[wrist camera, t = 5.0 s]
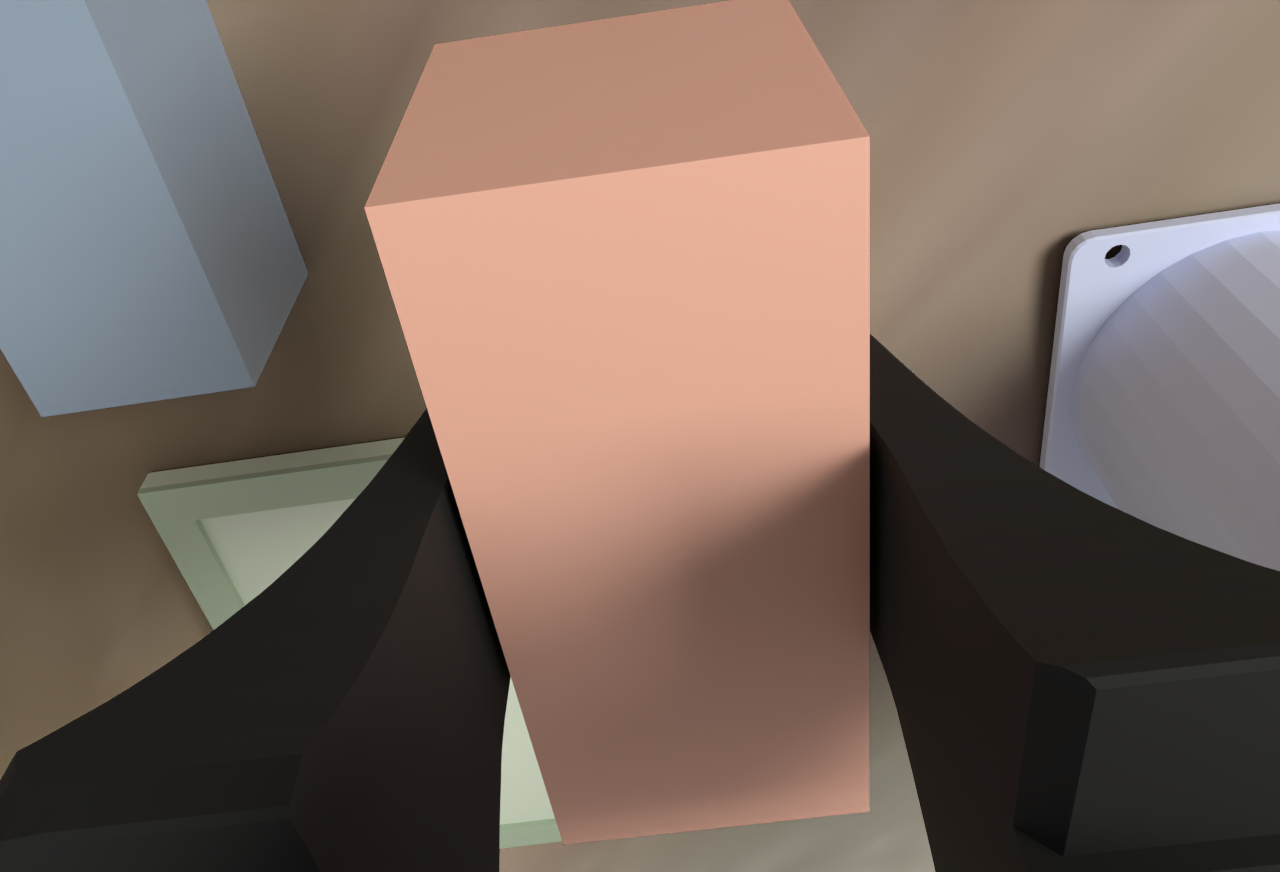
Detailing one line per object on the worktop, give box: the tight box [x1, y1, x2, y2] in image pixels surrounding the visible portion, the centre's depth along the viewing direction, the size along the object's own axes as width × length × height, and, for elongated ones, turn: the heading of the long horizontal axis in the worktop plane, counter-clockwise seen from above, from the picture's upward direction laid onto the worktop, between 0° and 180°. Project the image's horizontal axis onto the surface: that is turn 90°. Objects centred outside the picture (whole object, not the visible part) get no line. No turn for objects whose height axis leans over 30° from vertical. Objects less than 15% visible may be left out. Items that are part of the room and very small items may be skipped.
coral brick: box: [364, 0, 870, 845], centre depth 13 cm, size 4×9×4 cm, turn 8°
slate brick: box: [0, 0, 308, 417], centre depth 18 cm, size 4×9×4 cm, turn 8°
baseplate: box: [137, 437, 562, 849], centre depth 29 cm, size 15×16×1 cm
